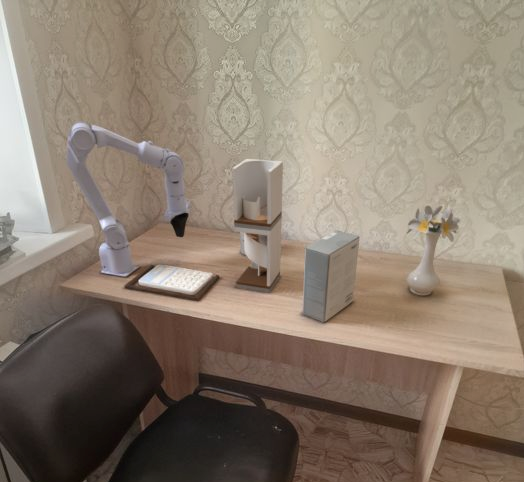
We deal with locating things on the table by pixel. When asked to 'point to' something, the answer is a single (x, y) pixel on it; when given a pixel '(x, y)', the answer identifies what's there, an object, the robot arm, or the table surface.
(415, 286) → the flower vase
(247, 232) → the white shelf tower
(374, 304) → the table surface
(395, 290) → the table surface
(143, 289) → the tray
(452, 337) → the table surface
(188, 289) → the calculator
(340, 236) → the hard drive box
